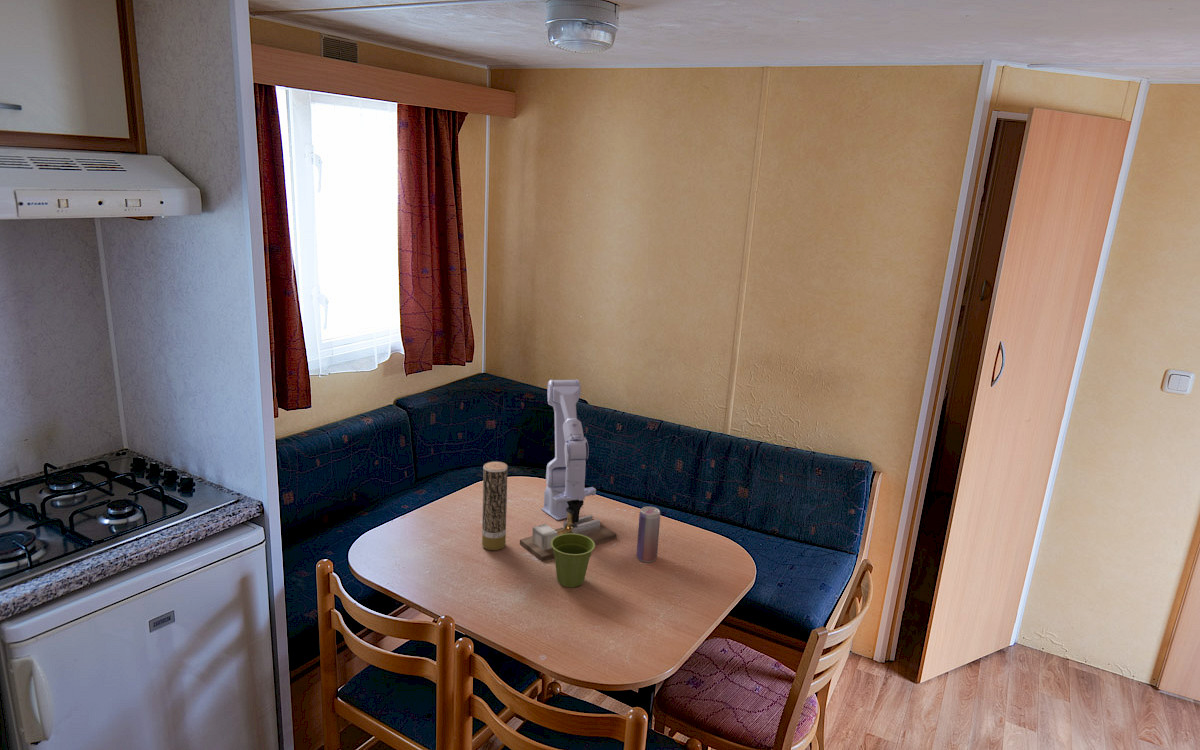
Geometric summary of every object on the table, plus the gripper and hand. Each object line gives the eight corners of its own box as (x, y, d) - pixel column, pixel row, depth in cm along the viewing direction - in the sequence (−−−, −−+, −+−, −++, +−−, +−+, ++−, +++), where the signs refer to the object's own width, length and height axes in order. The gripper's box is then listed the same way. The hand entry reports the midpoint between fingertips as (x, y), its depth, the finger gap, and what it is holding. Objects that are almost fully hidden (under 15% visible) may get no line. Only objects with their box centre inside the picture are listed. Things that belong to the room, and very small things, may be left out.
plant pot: (554, 595, 195) (555, 556, 192) (545, 572, 206) (546, 534, 203) (597, 590, 198) (600, 552, 195) (586, 568, 209) (588, 531, 206)
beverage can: (632, 559, 215) (636, 511, 211) (641, 551, 220) (645, 504, 216) (651, 565, 212) (655, 516, 209) (660, 556, 218) (664, 509, 214)
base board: (519, 544, 220) (519, 539, 220) (593, 523, 236) (593, 518, 236) (541, 561, 211) (542, 556, 211) (616, 538, 227) (616, 534, 227)
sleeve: (563, 533, 225) (563, 521, 224) (589, 526, 231) (590, 514, 230) (572, 540, 221) (573, 528, 220) (599, 532, 227) (600, 520, 226)
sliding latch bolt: (538, 541, 218) (539, 514, 216) (569, 532, 225) (570, 506, 223) (543, 545, 216) (544, 518, 214) (574, 536, 223) (575, 510, 220)
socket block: (532, 541, 219) (532, 527, 218) (545, 537, 222) (545, 523, 221) (544, 550, 214) (544, 536, 213) (557, 546, 217) (557, 532, 216)
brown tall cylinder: (507, 541, 221) (509, 462, 215) (502, 552, 215) (504, 471, 208) (485, 539, 222) (486, 460, 215) (479, 550, 215) (480, 469, 209)
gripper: (562, 489, 212) (560, 532, 215) (603, 478, 220) (600, 520, 224) (548, 480, 217) (547, 523, 221) (588, 470, 226) (586, 511, 229)
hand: (573, 521), depth 223 cm, fingers closed, pressing on sliding latch bolt
